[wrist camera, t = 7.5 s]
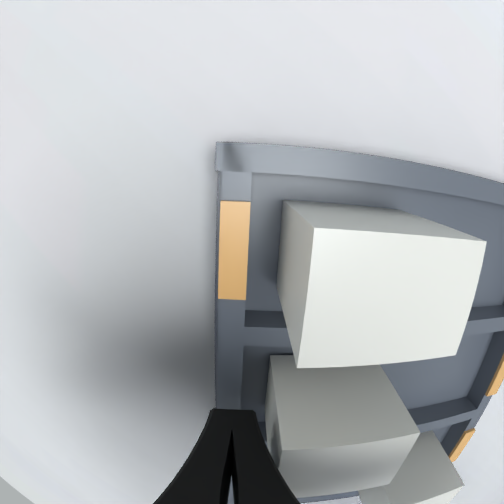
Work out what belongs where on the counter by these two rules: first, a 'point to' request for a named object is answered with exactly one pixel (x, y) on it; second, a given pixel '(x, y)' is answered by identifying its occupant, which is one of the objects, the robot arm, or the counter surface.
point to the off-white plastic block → (373, 284)
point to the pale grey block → (419, 477)
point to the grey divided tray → (361, 194)
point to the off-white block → (335, 427)
